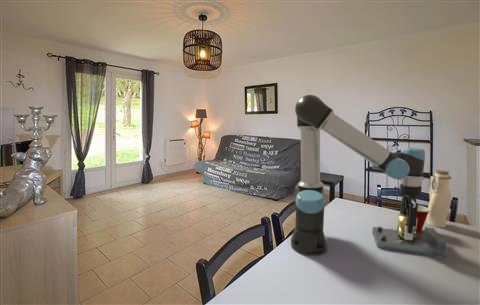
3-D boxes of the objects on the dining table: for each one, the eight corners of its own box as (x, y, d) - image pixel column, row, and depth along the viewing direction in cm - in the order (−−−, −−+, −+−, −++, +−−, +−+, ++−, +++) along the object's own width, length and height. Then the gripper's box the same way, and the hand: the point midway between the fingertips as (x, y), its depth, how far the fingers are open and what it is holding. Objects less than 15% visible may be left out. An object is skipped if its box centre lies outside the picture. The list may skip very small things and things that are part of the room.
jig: (377, 247, 109) (378, 234, 108) (372, 232, 122) (373, 221, 121) (444, 257, 101) (446, 243, 100) (431, 240, 114) (433, 228, 113)
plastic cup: (433, 232, 121) (436, 208, 119) (417, 236, 118) (419, 212, 116) (411, 223, 131) (414, 201, 130) (396, 226, 128) (398, 204, 126)
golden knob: (398, 242, 109) (400, 219, 107) (394, 234, 115) (396, 213, 114) (417, 244, 107) (419, 221, 105) (412, 237, 113) (414, 214, 111)
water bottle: (440, 230, 124) (447, 174, 119) (420, 223, 132) (426, 170, 127) (451, 225, 128) (458, 171, 124) (431, 219, 136) (437, 168, 132)
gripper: (430, 192, 97) (423, 248, 100) (414, 179, 115) (409, 227, 119) (407, 190, 99) (401, 245, 103) (395, 178, 118) (391, 224, 121)
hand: (405, 235), depth 111 cm, fingers closed on golden knob, 7 cm apart
